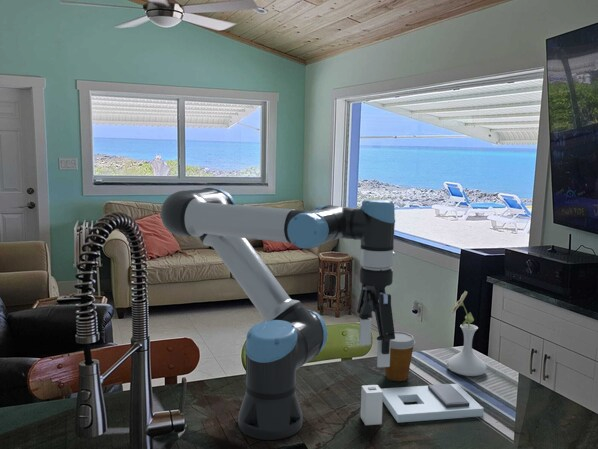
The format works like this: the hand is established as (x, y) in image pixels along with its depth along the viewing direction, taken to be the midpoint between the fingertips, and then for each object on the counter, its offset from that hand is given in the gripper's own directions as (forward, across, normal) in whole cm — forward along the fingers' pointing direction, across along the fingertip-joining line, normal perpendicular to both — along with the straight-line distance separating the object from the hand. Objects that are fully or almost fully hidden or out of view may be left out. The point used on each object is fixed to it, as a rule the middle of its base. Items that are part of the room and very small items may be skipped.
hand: (373, 355), depth 125 cm
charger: (+16, 0, 0) cm, 16 cm away
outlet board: (+16, +5, -17) cm, 24 cm away
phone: (+14, +5, -22) cm, 27 cm away
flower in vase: (+17, +23, -36) cm, 46 cm away
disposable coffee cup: (+16, +23, -15) cm, 32 cm away
